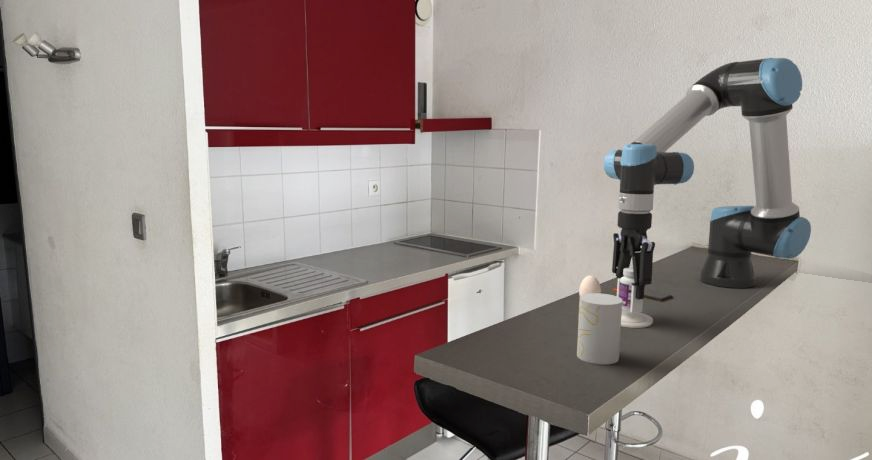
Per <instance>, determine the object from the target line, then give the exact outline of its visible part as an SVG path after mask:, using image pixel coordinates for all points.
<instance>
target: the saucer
mask: <svg viewBox="0 0 872 460" xmlns="http://www.w3.org/2000/svg"><path fill="white" fill-rule="evenodd" d="M653 324H654V319H653V317H652V316H650V315H648V314H646V313H642V312H629V311H624V310H622V315H621V327H623V328H627V329H628V328H629V329H644V328H647V327H651V326H652V325H653Z"/></svg>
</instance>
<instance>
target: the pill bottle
mask: <svg viewBox="0 0 872 460" xmlns="http://www.w3.org/2000/svg"><path fill="white" fill-rule="evenodd" d="M623 275H624V277H622V278H621V279H620V284H619V298H621V299H622V311H629V312H630V307H631V291H632V283H634V273H633V267H629V268H625V269H624V270H623Z"/></svg>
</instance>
